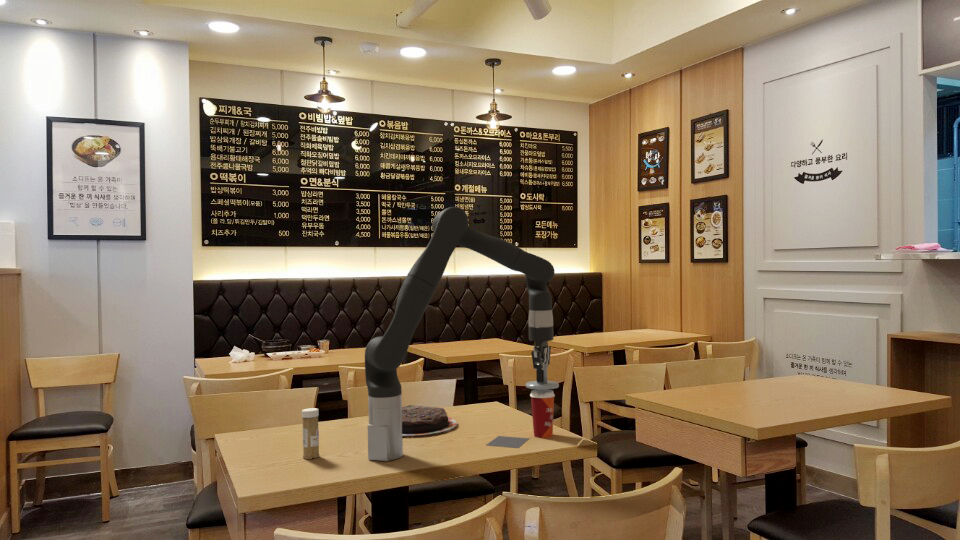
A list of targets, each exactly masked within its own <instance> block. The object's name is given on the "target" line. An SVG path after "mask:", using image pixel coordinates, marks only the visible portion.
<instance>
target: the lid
mask: <svg viewBox="0 0 960 540" xmlns="http://www.w3.org/2000/svg"><path fill="white" fill-rule="evenodd" d="M538 365H539V363H538ZM559 383H560V382H558V381H553V380H548V368H547V363H544V382H543V383H540V382H537V380H532V381H527V382H526V383H525V388H527V389H528V390H529V389H530V390H554V389H558V388H559V387H560V384H559Z"/></svg>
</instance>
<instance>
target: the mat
mask: <svg viewBox="0 0 960 540" xmlns="http://www.w3.org/2000/svg"><path fill="white" fill-rule="evenodd" d="M528 440H530V438H528V437H516V436H505V435H497V436H496V437H495V438H494V439H492V440H491V441H490V442H488V443H486V444H485V446H486V447H500V448H511V449H512V448H513V449H519V448H521V446H523V445H524V444H525V443H526V442H527V441H528Z"/></svg>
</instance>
